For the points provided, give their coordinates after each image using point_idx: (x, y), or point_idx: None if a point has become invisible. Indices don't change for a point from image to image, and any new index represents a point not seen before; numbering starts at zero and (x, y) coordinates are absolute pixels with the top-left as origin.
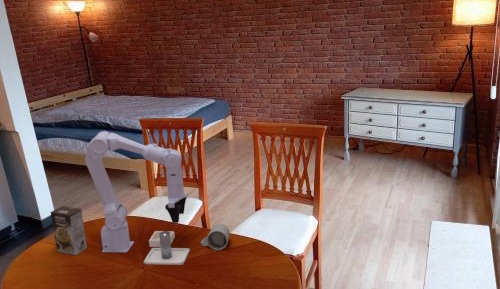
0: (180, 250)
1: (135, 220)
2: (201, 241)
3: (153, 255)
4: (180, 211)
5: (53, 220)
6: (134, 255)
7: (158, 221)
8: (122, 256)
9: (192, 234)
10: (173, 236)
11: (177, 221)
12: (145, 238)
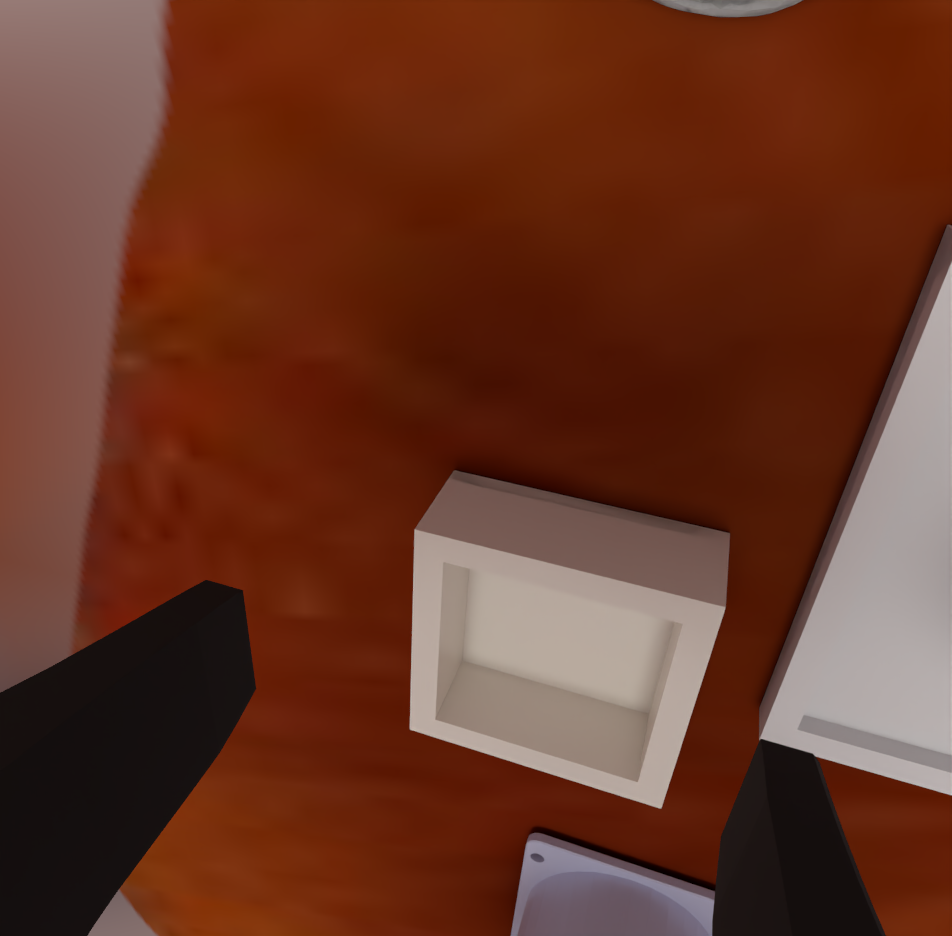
0: (932, 397)
1: None
2: (718, 6)
3: (947, 726)
4: (209, 691)
5: None
6: None
7: (95, 620)
8: None
9: (336, 234)
10: (493, 515)
11: (820, 804)
12: None
